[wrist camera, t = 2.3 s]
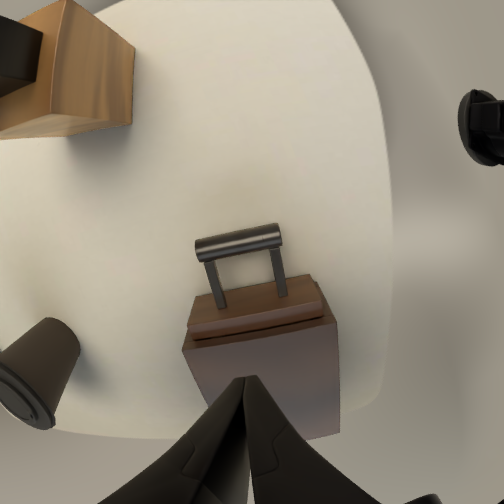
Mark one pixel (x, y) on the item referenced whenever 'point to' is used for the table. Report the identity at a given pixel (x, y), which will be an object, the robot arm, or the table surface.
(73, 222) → the table surface
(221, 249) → the drawer
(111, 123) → the pedestal
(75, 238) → the table surface
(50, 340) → the coffee cup
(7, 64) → the black wall charger
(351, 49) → the table surface
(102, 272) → the table surface
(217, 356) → the cabinet
